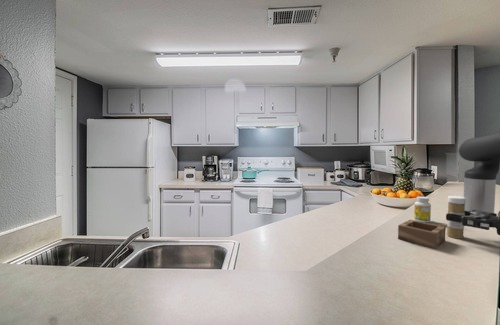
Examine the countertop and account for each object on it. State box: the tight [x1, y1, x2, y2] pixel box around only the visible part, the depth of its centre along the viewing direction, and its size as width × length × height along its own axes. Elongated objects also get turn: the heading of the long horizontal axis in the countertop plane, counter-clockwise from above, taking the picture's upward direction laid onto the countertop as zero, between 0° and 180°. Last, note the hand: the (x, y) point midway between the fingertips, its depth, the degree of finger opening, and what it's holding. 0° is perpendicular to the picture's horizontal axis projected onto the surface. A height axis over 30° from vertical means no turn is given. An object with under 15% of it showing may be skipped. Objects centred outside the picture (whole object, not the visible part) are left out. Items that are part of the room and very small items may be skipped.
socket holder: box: [397, 219, 447, 249], centre depth 79 cm, size 10×10×4 cm
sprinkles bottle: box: [445, 195, 466, 239], centre depth 81 cm, size 5×5×13 cm
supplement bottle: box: [413, 196, 432, 223], centre depth 99 cm, size 5×5×10 cm
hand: (450, 214), depth 82 cm, fingers open, 8 cm apart
